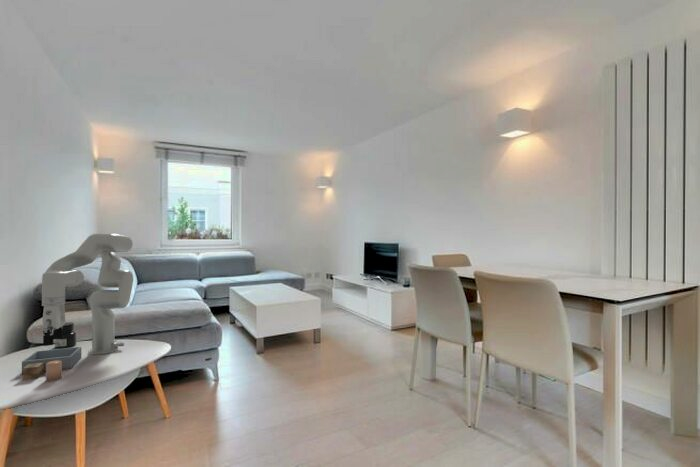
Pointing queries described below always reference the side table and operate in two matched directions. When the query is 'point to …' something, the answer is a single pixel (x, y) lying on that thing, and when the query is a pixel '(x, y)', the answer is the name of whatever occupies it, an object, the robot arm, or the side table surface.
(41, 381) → the side table surface
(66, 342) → the ink bottle
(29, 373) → the walnut cube
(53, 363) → the peach domed capsule
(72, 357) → the tote
